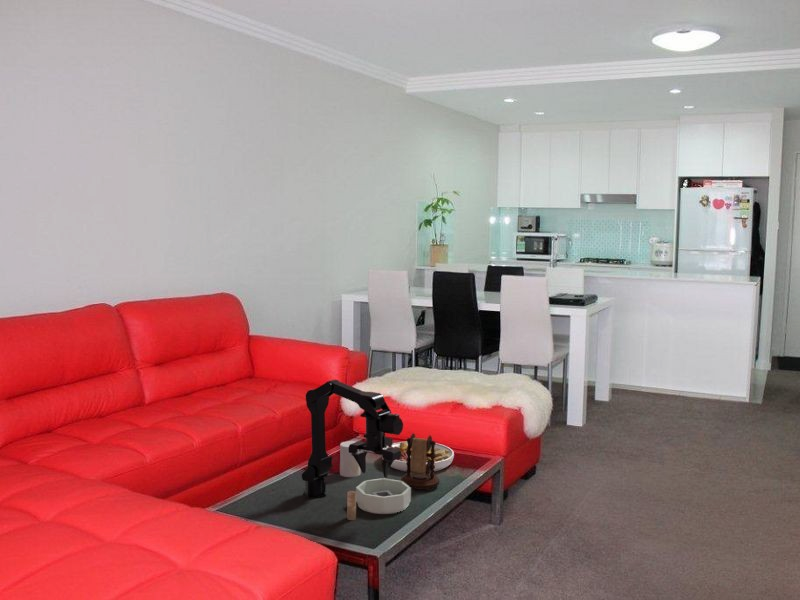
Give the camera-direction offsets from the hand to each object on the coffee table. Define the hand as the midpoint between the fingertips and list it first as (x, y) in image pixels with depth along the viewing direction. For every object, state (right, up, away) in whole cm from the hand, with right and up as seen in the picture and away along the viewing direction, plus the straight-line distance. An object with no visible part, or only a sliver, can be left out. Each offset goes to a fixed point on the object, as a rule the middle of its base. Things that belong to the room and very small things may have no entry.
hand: (374, 475), depth 259 cm
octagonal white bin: (+3, -12, +9) cm, 16 cm away
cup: (-11, -9, +40) cm, 43 cm away
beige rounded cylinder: (-8, -14, -4) cm, 16 cm away
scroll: (+16, -11, +29) cm, 35 cm away
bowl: (+16, -8, +56) cm, 58 cm away
